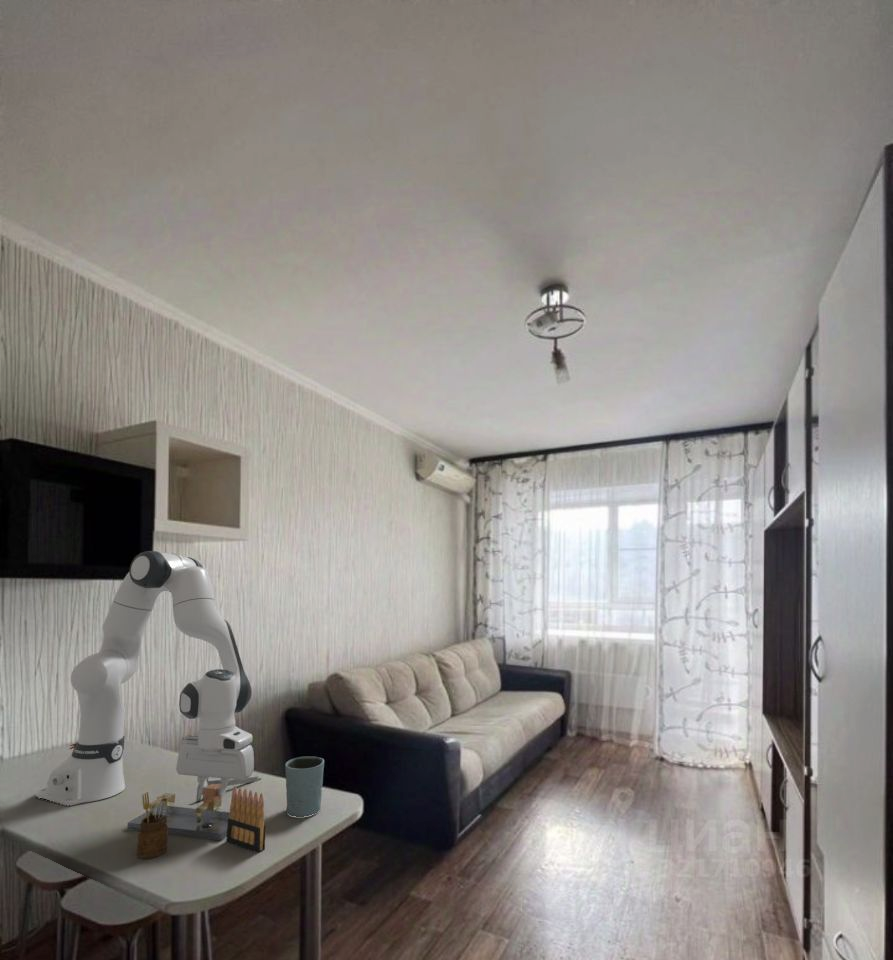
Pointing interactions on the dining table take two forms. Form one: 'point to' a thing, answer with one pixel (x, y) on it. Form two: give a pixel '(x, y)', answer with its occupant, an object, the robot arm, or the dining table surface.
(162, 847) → the utensil holder
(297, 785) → the grey-teal cup
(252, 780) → the caliper
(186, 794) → the dining table surface
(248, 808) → the ammunition clip
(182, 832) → the bolt plate
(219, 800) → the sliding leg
